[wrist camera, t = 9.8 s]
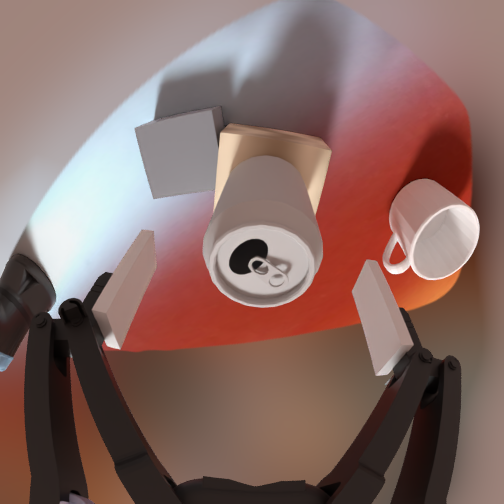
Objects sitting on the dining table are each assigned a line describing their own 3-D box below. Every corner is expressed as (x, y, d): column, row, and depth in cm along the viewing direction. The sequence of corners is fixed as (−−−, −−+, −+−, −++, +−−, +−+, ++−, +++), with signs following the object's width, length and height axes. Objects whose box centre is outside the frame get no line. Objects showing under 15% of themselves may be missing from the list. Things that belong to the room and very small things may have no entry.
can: (256, 136, 22) (244, 185, 12) (321, 185, 24) (354, 263, 15) (211, 198, 26) (175, 280, 16) (272, 238, 28) (272, 331, 18)
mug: (440, 163, 27) (475, 188, 20) (453, 225, 32) (481, 257, 25) (356, 206, 32) (376, 242, 25) (380, 263, 37) (398, 303, 30)
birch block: (221, 203, 33) (212, 228, 28) (229, 123, 27) (220, 132, 22) (302, 215, 33) (307, 242, 28) (320, 137, 27) (331, 150, 22)
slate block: (168, 182, 31) (153, 199, 27) (153, 120, 27) (134, 128, 23) (232, 172, 30) (225, 188, 26) (220, 105, 26) (211, 109, 22)
